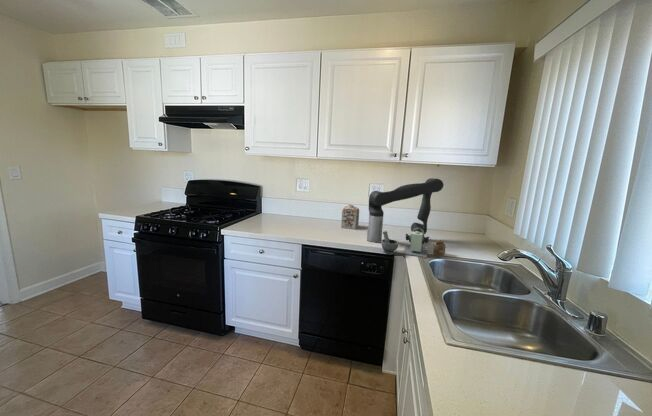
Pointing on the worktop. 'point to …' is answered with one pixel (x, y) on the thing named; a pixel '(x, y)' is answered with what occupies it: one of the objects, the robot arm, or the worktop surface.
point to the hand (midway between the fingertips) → (416, 241)
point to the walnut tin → (439, 248)
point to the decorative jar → (350, 217)
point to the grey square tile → (415, 252)
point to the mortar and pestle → (389, 244)
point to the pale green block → (416, 241)
